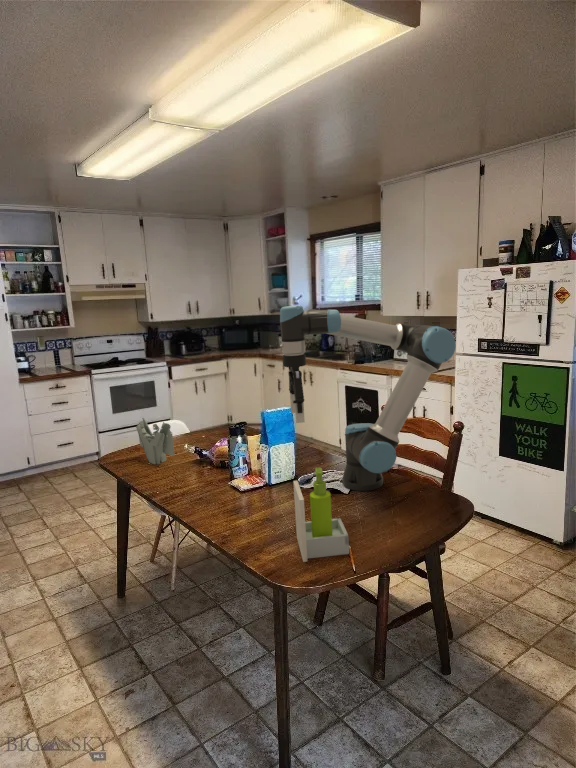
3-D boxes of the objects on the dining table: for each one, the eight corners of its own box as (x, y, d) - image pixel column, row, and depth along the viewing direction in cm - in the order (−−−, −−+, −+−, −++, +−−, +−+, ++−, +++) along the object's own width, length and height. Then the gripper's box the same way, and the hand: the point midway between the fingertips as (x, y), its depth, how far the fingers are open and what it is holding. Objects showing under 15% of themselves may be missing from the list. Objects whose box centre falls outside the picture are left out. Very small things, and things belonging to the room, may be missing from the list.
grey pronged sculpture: (134, 458, 232) (129, 417, 228) (147, 454, 237) (142, 414, 233) (168, 469, 214) (163, 425, 210) (181, 464, 219) (177, 421, 215)
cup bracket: (339, 532, 148) (337, 476, 145) (350, 556, 135) (348, 495, 132) (296, 537, 147) (293, 480, 144) (303, 562, 134) (299, 500, 130)
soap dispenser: (331, 529, 144) (327, 465, 141) (333, 541, 138) (330, 473, 134) (311, 530, 144) (307, 466, 141) (312, 542, 138) (309, 475, 134)
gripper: (279, 350, 171) (282, 409, 174) (286, 359, 146) (290, 428, 150) (300, 349, 171) (303, 408, 175) (311, 357, 147) (314, 425, 151)
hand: (297, 417), depth 163 cm, fingers open, 13 cm apart
